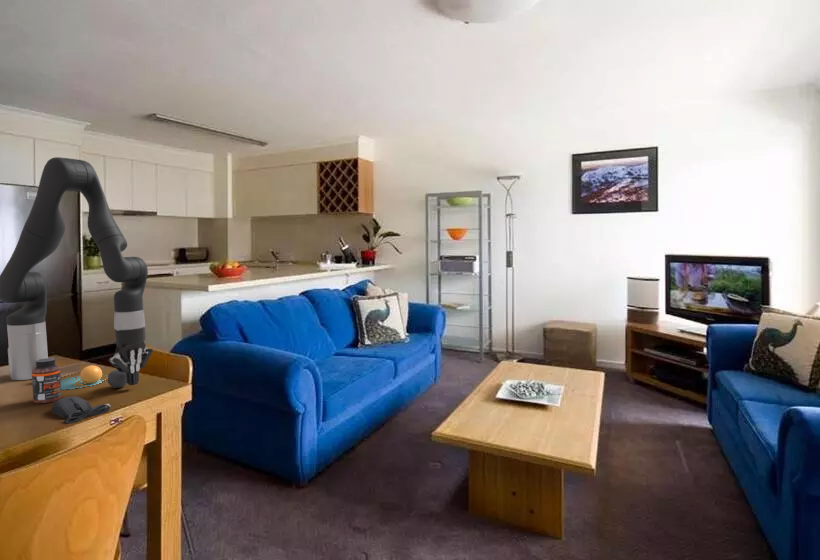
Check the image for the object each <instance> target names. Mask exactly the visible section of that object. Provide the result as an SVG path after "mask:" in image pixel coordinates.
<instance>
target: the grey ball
mask: <svg viewBox="0 0 820 560" xmlns="http://www.w3.org/2000/svg"><path fill="white" fill-rule="evenodd" d="M107 376H108V377H107V381H106V382H107V384H108V385H109V386H110V387H111V388H115V389H120V388H124V387H125V386H126V385H127V379H126V373H125V372H119V371H118V370H117V369H116V368H115V369H114V370H111V371H110V372H109V373H108V375H107Z"/></svg>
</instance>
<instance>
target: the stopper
mask: <svg viewBox="0 0 820 560" xmlns="http://www.w3.org/2000/svg"><path fill="white" fill-rule="evenodd" d="M59 368H60V379H61V377H62V378H64V376H66V377H69V376H72V375H71V374H73V375H75V374H74V373H76V374H78V373H77V372H80V373H81V363H78V362H75V363H72V364H68V365H67V364H66V365H64V366H59ZM68 375H69V376H68Z"/></svg>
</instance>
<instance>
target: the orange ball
mask: <svg viewBox="0 0 820 560" xmlns="http://www.w3.org/2000/svg"><path fill="white" fill-rule="evenodd" d="M102 375H103V371H102V369H101V368H100V367H99V366H97V365H88V366H84V367H83V369H82V370H80V373H79V376H80V379H81V380H82V382H84V383H86V384H93V383H96V382H98V381H99V380H100V379H101V377H102Z"/></svg>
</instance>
